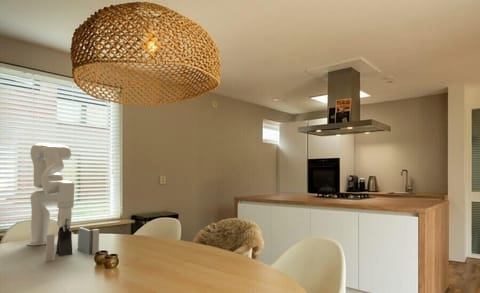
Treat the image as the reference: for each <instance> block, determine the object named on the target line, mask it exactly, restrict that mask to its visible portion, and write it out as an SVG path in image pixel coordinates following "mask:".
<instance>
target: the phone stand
mask: <svg viewBox="0 0 480 293" xmlns="http://www.w3.org/2000/svg"><path fill="white" fill-rule="evenodd" d="M63 232H64V231H59V230H58V231H57V241H56V250H55V254H56V255H57V256H59V257H64V256H72V255H73V240H72V239H73V238H72V237H73V236H72V235H73V232H72V229H70V239H65V240H63Z"/></svg>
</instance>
